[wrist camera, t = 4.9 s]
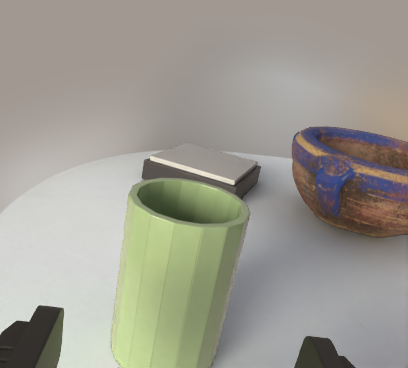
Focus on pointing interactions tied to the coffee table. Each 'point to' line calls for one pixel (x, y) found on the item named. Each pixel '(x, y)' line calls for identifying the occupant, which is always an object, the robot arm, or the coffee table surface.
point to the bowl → (353, 179)
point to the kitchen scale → (203, 168)
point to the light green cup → (176, 273)
